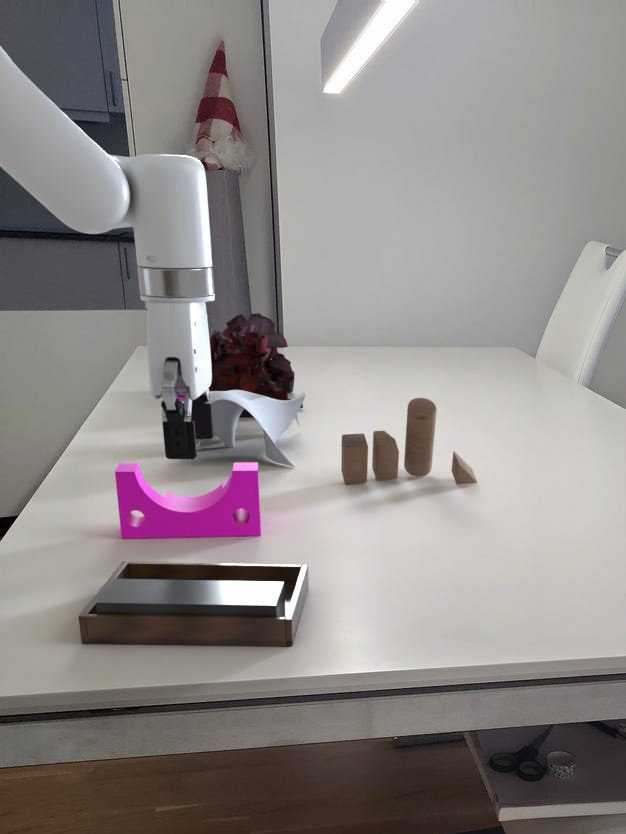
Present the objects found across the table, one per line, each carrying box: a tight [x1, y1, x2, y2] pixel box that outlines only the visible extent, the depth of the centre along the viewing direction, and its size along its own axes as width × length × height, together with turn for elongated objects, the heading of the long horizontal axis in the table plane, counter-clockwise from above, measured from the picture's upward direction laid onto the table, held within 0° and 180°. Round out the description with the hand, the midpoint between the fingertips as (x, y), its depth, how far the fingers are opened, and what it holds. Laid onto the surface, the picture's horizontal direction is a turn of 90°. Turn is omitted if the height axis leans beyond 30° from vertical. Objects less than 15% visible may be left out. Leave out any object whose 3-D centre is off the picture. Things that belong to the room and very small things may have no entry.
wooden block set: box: [340, 397, 478, 485], centre depth 140 cm, size 18×9×10 cm, turn 105°
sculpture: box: [182, 390, 306, 468], centre depth 154 cm, size 25×19×10 cm
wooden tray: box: [77, 561, 310, 647], centre depth 94 cm, size 18×14×4 cm
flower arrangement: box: [209, 312, 304, 418], centre depth 187 cm, size 31×20×15 cm, turn 13°
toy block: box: [114, 461, 262, 540], centre depth 116 cm, size 15×6×8 cm, turn 101°
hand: (190, 448), depth 114 cm, fingers open, 9 cm apart
